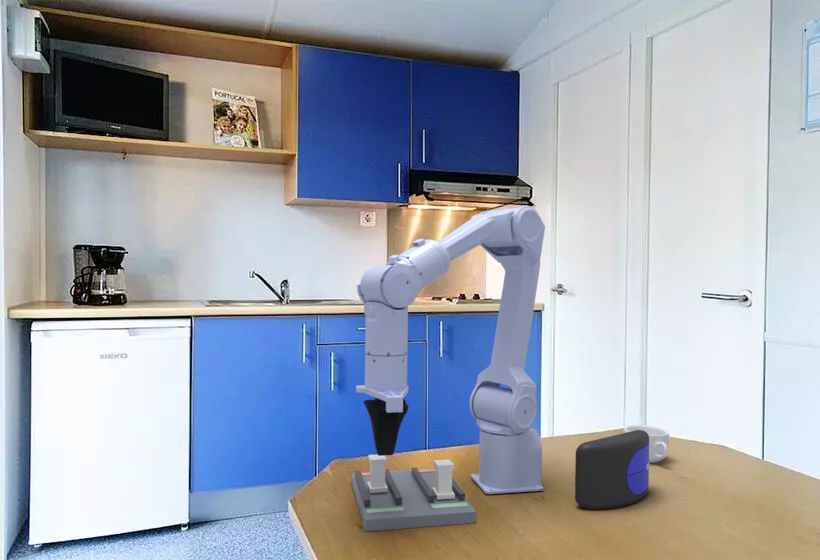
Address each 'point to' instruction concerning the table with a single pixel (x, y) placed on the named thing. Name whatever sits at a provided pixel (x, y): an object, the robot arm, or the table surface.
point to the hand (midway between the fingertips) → (384, 454)
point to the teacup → (653, 441)
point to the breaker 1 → (377, 474)
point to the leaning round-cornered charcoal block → (612, 470)
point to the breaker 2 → (443, 479)
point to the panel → (409, 502)
